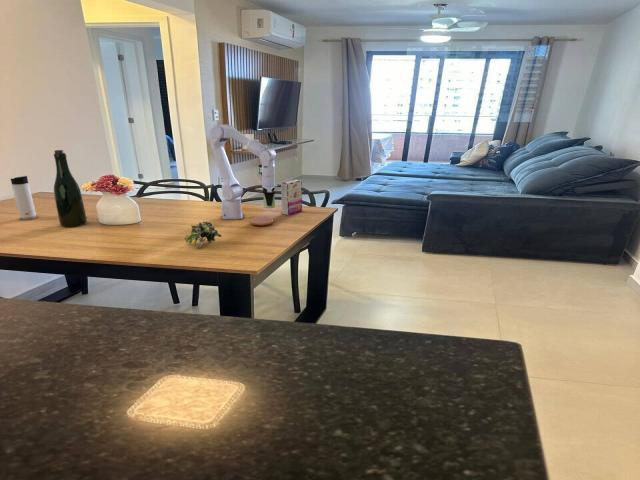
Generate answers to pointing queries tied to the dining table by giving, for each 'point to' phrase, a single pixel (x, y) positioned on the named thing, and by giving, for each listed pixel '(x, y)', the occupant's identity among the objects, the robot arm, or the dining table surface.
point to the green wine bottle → (67, 194)
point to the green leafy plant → (202, 233)
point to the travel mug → (23, 198)
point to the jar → (272, 203)
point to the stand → (261, 221)
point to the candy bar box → (291, 197)
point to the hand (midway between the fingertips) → (269, 204)
